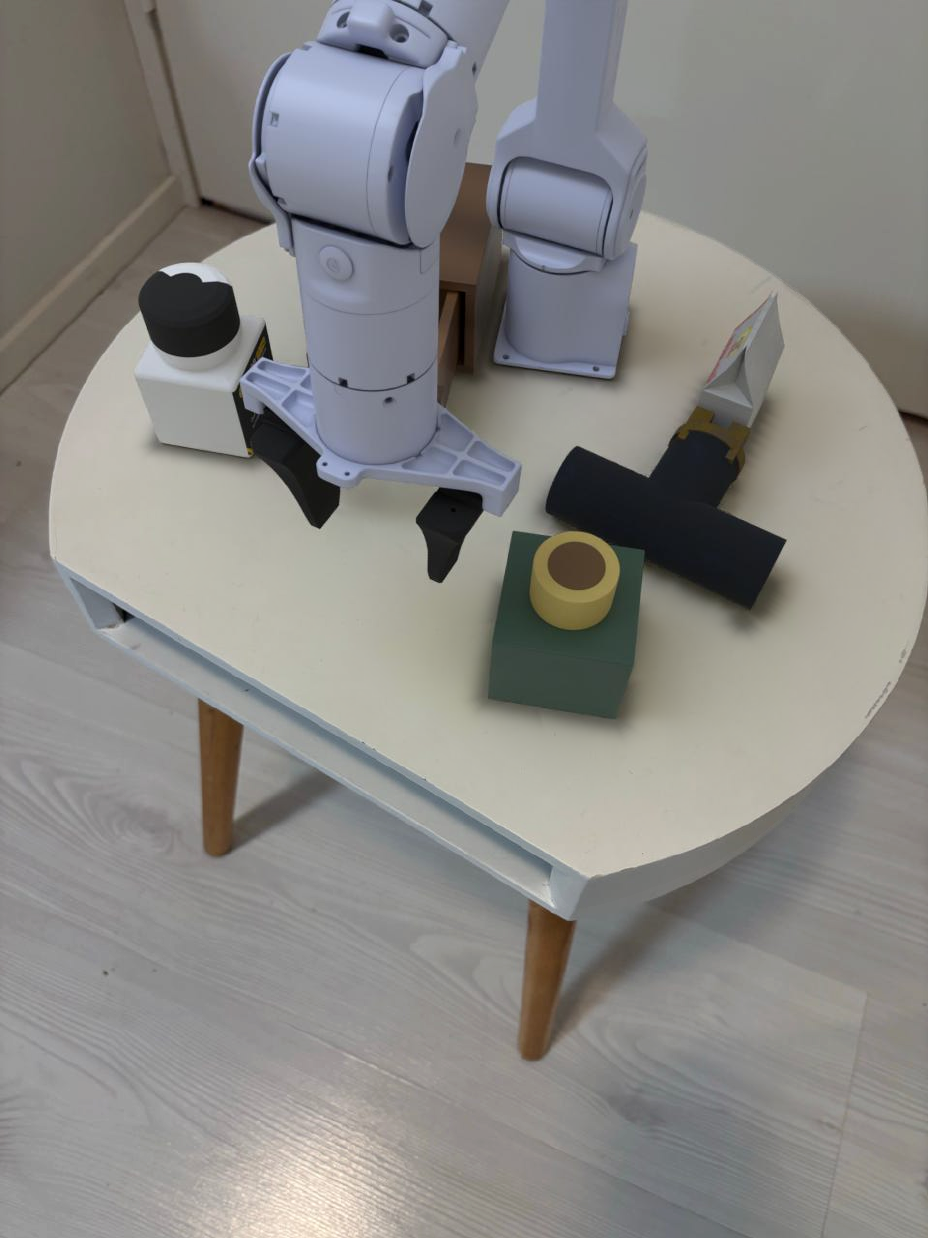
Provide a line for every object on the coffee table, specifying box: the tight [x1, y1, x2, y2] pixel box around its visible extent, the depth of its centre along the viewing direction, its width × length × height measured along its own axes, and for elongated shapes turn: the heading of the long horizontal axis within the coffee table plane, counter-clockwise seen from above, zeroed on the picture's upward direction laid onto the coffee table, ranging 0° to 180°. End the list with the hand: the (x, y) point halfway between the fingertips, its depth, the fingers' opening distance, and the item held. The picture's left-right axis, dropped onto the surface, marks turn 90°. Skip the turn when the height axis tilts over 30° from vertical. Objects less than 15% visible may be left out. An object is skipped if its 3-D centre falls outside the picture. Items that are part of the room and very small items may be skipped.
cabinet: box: [439, 161, 503, 376], centre depth 75 cm, size 14×12×9 cm
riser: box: [487, 530, 645, 720], centre depth 59 cm, size 8×8×7 cm
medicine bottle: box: [133, 262, 274, 458], centre depth 67 cm, size 7×7×12 cm
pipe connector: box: [545, 405, 788, 610], centre depth 65 cm, size 12×5×15 cm
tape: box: [529, 530, 620, 630], centre depth 55 cm, size 5×5×3 cm
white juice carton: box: [696, 290, 786, 430], centre depth 68 cm, size 4×7×10 cm, turn 153°
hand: (383, 541), depth 53 cm, fingers open, 7 cm apart
